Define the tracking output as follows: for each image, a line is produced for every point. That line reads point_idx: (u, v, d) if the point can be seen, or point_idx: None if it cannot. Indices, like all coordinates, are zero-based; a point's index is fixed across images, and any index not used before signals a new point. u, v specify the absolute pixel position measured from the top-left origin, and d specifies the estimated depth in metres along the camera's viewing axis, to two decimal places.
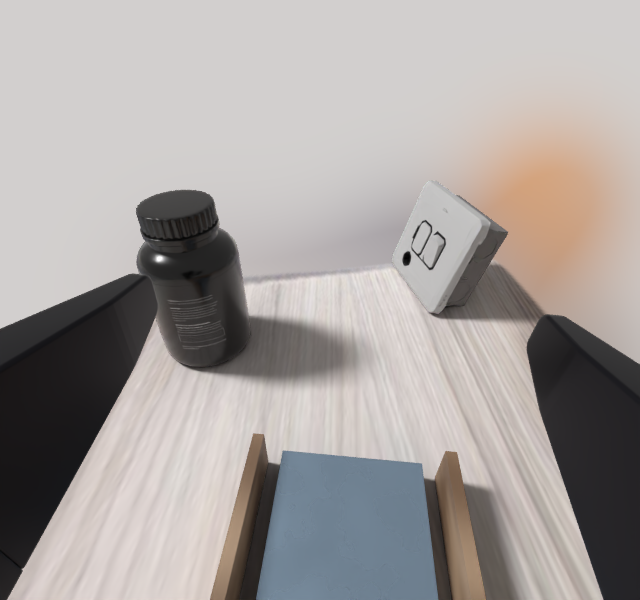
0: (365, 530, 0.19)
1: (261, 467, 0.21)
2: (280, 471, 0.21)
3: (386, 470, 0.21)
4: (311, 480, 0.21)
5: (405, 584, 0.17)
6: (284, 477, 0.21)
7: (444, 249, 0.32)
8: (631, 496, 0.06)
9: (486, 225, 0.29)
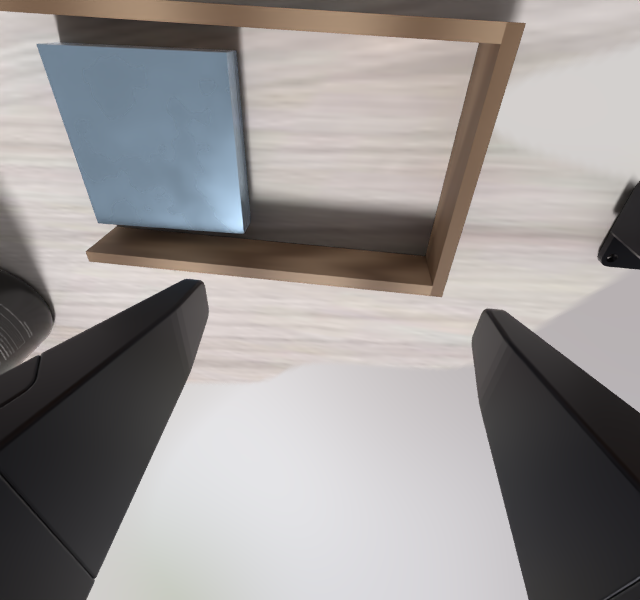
0: (143, 132, 0.17)
1: (121, 241, 0.21)
2: (119, 223, 0.20)
3: (68, 99, 0.17)
4: (116, 191, 0.19)
5: (179, 89, 0.16)
6: (124, 219, 0.20)
7: None
8: (547, 486, 0.06)
9: None
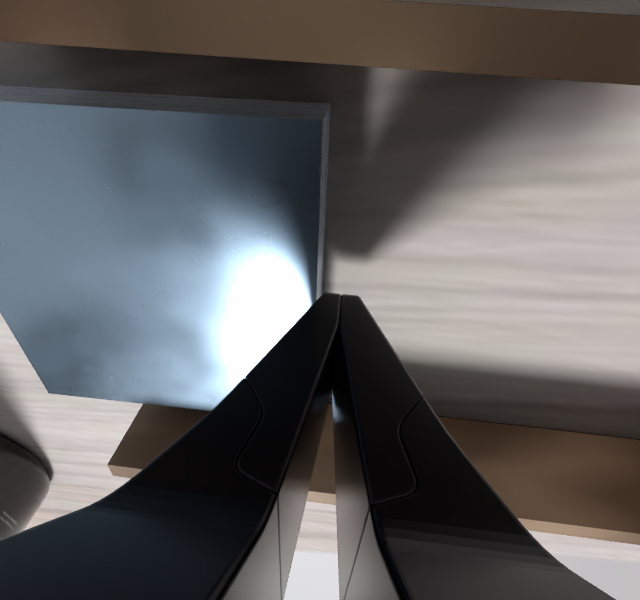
0: (125, 268, 0.08)
1: (169, 427, 0.12)
2: (87, 395, 0.11)
3: None
4: (76, 354, 0.10)
5: (203, 194, 0.07)
6: (94, 390, 0.11)
7: None
8: (343, 461, 0.06)
9: None
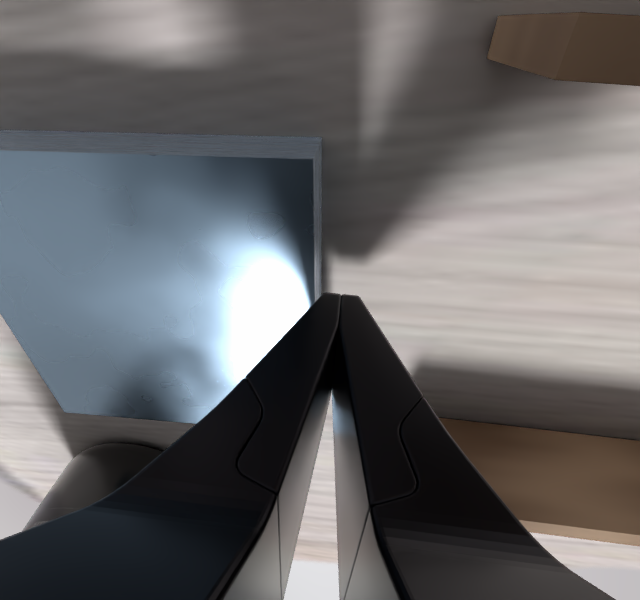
0: (133, 296, 0.09)
1: None
2: (100, 413, 0.12)
3: None
4: (89, 375, 0.11)
5: (203, 228, 0.07)
6: (107, 408, 0.12)
7: None
8: (343, 461, 0.06)
9: None
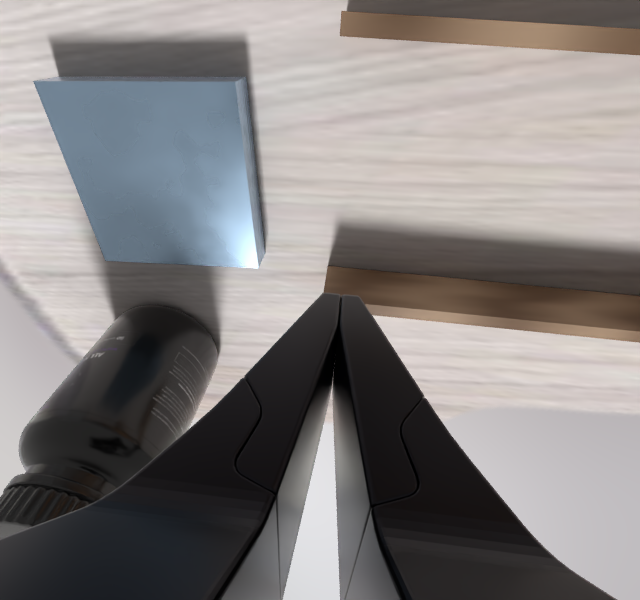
0: (149, 168, 0.16)
1: (349, 285, 0.18)
2: (127, 260, 0.19)
3: (69, 136, 0.16)
4: (122, 228, 0.18)
5: (185, 122, 0.15)
6: (132, 255, 0.19)
7: None
8: (344, 461, 0.06)
9: None
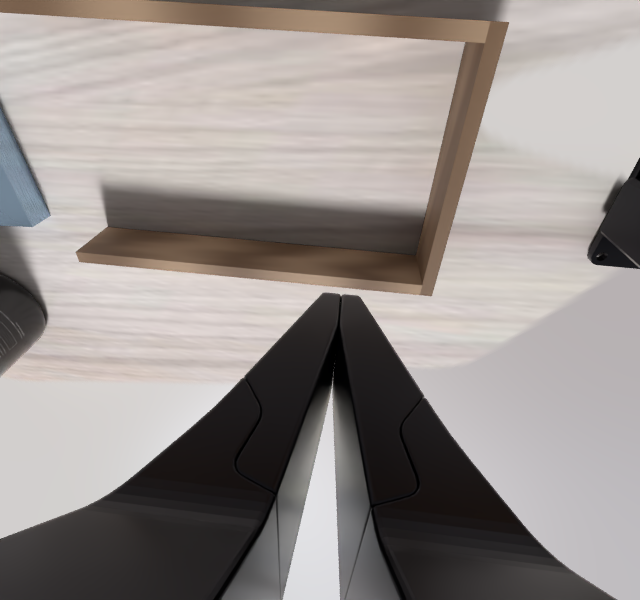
0: None
1: (112, 241, 0.21)
2: None
3: None
4: None
5: None
6: None
7: None
8: (344, 461, 0.06)
9: None
